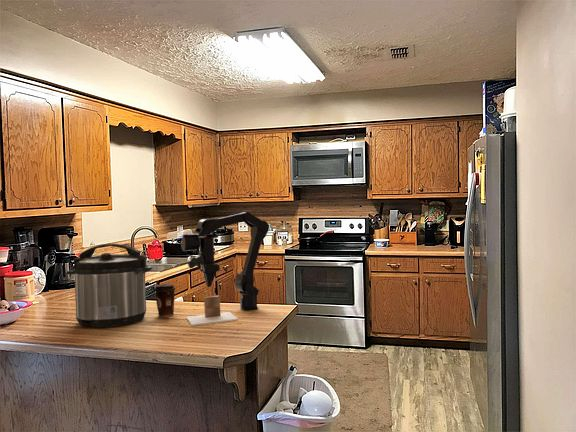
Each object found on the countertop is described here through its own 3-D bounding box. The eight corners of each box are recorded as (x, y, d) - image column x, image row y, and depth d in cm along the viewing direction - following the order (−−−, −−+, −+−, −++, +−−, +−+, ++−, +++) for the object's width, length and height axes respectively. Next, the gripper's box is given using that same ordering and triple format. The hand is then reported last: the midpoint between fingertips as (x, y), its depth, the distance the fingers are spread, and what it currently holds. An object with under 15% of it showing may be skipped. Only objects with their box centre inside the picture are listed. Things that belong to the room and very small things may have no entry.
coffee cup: (155, 318, 197) (153, 287, 196) (155, 314, 205) (153, 284, 204) (176, 316, 199) (175, 285, 199) (176, 312, 207) (174, 282, 207)
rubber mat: (229, 313, 201) (229, 311, 201) (237, 320, 188) (237, 318, 188) (186, 318, 195) (186, 316, 195) (191, 326, 182) (191, 324, 182)
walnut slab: (219, 315, 196) (218, 295, 196) (220, 316, 194) (219, 296, 194) (204, 316, 194) (204, 297, 193) (205, 317, 192) (204, 297, 192)
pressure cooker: (165, 315, 203) (161, 240, 202) (116, 332, 177) (112, 247, 176) (111, 311, 215) (108, 241, 214) (58, 327, 189) (54, 247, 188)
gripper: (184, 248, 205) (185, 285, 205) (191, 252, 187) (193, 291, 187) (209, 247, 209) (211, 282, 209) (219, 250, 191) (220, 289, 191)
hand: (208, 286), depth 199 cm, fingers open, 3 cm apart
